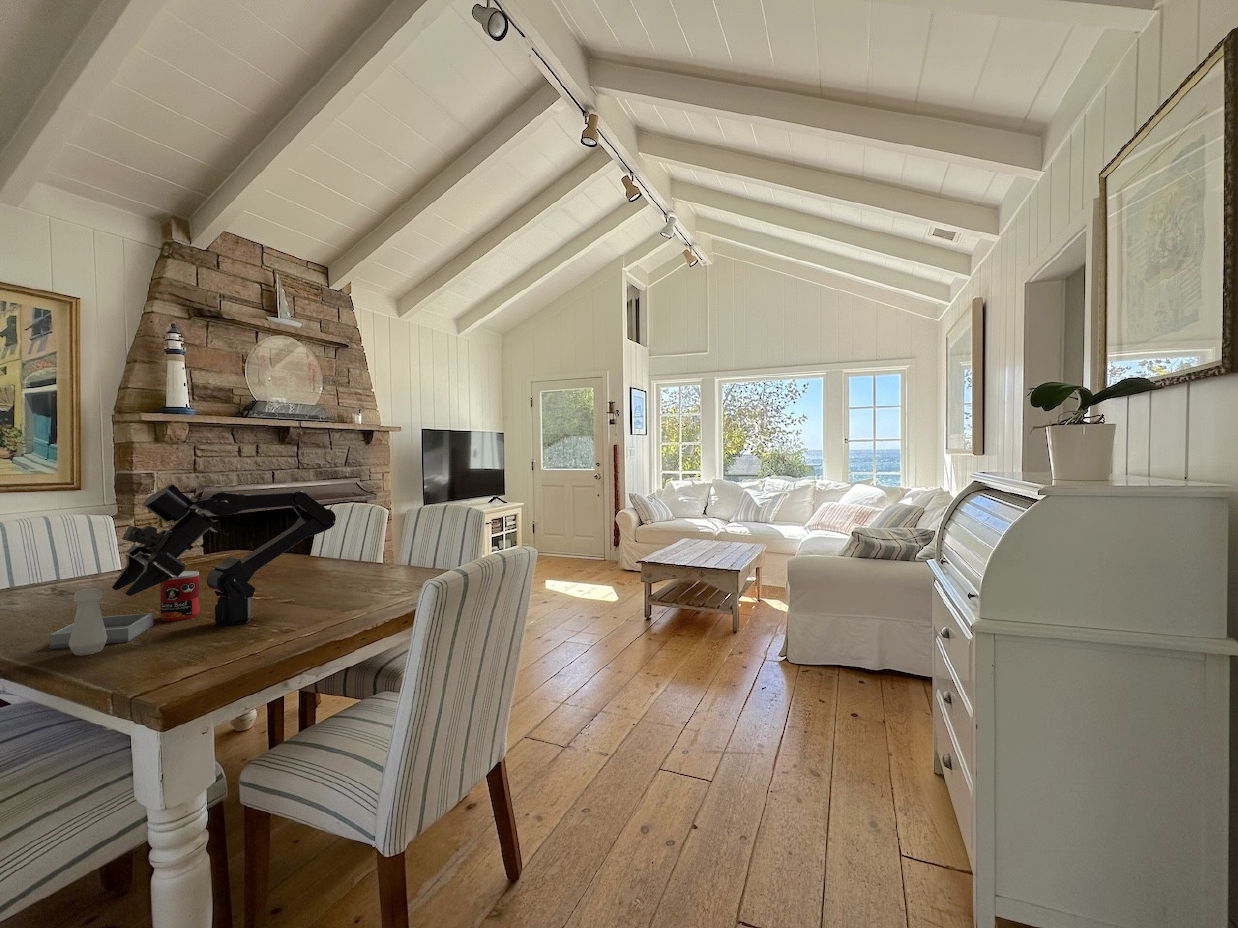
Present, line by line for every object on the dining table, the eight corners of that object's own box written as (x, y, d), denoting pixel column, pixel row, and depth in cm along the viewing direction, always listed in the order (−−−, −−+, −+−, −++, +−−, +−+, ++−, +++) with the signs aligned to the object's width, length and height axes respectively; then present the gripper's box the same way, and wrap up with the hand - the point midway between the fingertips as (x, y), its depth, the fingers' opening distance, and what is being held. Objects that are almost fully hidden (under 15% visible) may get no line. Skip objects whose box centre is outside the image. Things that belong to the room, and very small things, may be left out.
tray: (153, 625, 135) (153, 612, 135) (128, 641, 122) (128, 627, 122) (83, 631, 130) (82, 618, 130) (49, 649, 118) (49, 634, 118)
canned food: (153, 622, 137) (153, 577, 137) (171, 613, 145) (171, 571, 145) (189, 620, 139) (189, 576, 139) (205, 612, 147) (205, 570, 147)
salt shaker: (83, 657, 112) (83, 593, 112) (60, 656, 113) (60, 591, 113) (114, 648, 118) (114, 586, 118) (93, 646, 119) (93, 585, 119)
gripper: (137, 509, 129) (72, 564, 120) (166, 514, 119) (97, 574, 110) (179, 540, 136) (119, 594, 127) (210, 546, 125) (147, 606, 116)
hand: (120, 592), depth 120 cm, fingers open, 9 cm apart
